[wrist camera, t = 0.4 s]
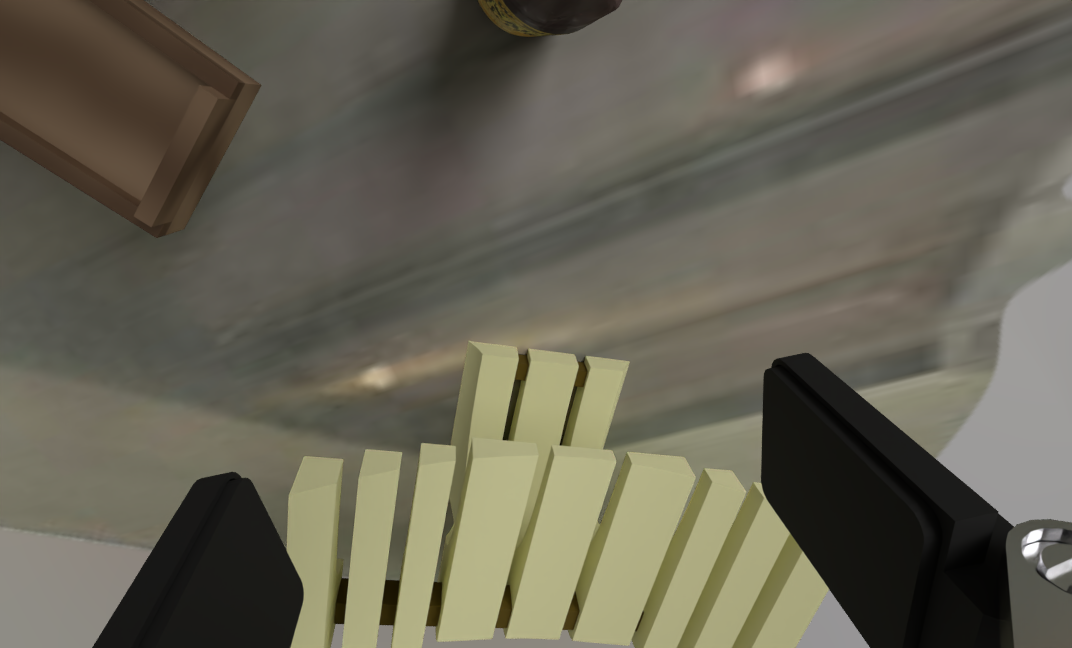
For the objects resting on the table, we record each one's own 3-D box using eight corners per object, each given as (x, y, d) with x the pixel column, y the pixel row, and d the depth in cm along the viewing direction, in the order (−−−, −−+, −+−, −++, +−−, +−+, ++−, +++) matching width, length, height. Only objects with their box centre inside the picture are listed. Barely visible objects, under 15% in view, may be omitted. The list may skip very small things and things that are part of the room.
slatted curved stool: (340, 495, 48) (280, 716, 32) (354, 326, 41) (288, 495, 25) (668, 517, 53) (757, 713, 37) (724, 373, 47) (860, 534, 31)
